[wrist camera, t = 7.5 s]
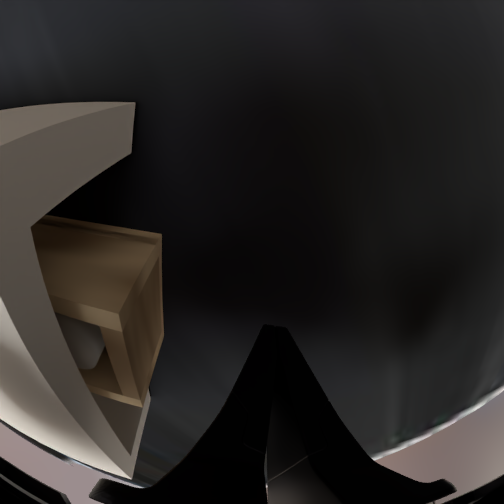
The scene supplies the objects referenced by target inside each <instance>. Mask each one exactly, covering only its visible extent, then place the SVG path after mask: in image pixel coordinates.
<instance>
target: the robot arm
mask: <svg viewBox="0 0 504 504" xmlns="http://www.w3.org/2000/svg"><path fill="white" fill-rule="evenodd" d="M266 446H267V478H268V502H267V493H266V484H265V475H264V461H265V454H266ZM456 491H457V489H456V487H455V486H454V485H453V484H452V483H450V482H449V481H447V480H445V479H440V480H437V481H434V482H431V483H422V482H418V481H415V480H413V479H410V478H408V477H406V476H403V475H401V474H399V473H397V472H394V471H392V470H390V469H388V468H386V467H384V466H382V465H380V464H378V463H377V462H375V461H374V460H373V459H371V458H370V457H369V456H368V455H367V453H366V452H365V451H364V450H363V448H362V447H361V446H360V445H359V443H358V442H357V441H356V439H355V438H354V437H353V435H352V434H351V433H350V432H349V430H348V429H347V428H346V426H345V425H344V423H343V422H342V421H341V419H340V418H339V416H338V414H337V413H336V411H335V410H334V408H333V406H332V405H331V403H330V401H328V398H327V396H326V395H325V393H324V391H323V389H322V388H321V386H320V384H319V383H318V381H317V379H316V377H315V376H314V374H313V372H312V371H311V369H310V367H309V365H308V364H307V362H306V360H305V359H304V357H303V355H302V353H301V352H300V350H299V348H298V347H297V345H296V343H295V341H294V340H293V338H292V336H291V334H290V333H289V331H288V329H287V328H286V327H280V326H276V327H275V326H273V325H267V324H264V325H263V327H262V329H261V331H260V333H259V335H258V337H257V339H256V342H255V344H254V346H253V348H252V350H251V352H250V354H249V356H248V358H247V360H246V362H245V364H244V366H243V368H242V370H241V372H240V375H239V377H238V379H237V381H236V383H235V385H234V387H233V389H232V391H231V393H230V394H229V396H228V398H227V400H226V402H225V404H224V406H223V407H222V409H221V411H220V412H219V414H218V415H217V417H216V418H215V420H214V421H213V422H212V424H211V425H210V426H209V428H208V429H207V430H206V432H205V433H204V434H203V436H202V437H201V438H200V439H199V441H198V442H197V443H196V444H195V446H194V447H193V448H192V449H191V451H190V452H189V453H188V454H187V455H186V456H185V457H184V458H183V459H182V460H181V461H180V462H179V463H178V464H177V465H176V466H175V467H174V468H173V469H172V470H170V471H169V472H168V473H167V474H166V475H165V476H164V477H162V478H161V479H160V480H159V481H158V482H157V483H155V484H154V485H153V486H151V487H148V488H135V487H131V486H128V485H125V484H122V483H119V482H115V481H112V480H108V479H103V478H102V479H100V480H99V481H98V482H97V484H96V485H95V487H94V488H93V489H92V492H91V493H90V494H89V497H90V498H91V499H94V500H96V501H98V502H101V503H104V504H436V502H435V501H436V500H438V499H441V498H443V497H445V496H448V495H449V494H452V493H455V492H456ZM0 504H71V503H70V501H69V500H68V498H67V496H66V495H65V494H63V493H61V492H59V491H57V490H55V489H53V488H51V487H49V486H47V485H46V484H44V483H42V482H40V481H38V480H37V479H35V478H33V477H32V476H30V475H28V474H26V473H25V472H23V471H22V470H20V469H19V468H17V467H16V466H14V465H13V464H11V463H9V462H8V461H6V460H5V459H3V458H2V457H0ZM441 504H504V474H503V475H501V476H499V477H497V478H496V479H494V480H492V481H490V482H488V483H486V484H484V485H482V486H480V487H478V488H476V489H474V490H472V491H469V492H467V493H465V494H463V495H461V496H458V497H456V498H453V499H451V500H449V501H446V502H444V503H441Z"/></svg>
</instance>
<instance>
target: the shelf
mask: <svg viewBox="0 0 504 504" xmlns="http://www.w3.org/2000/svg"><path fill="white" fill-rule="evenodd" d="M135 104H136V103H135V102H76V103H58V104H45V105H35V106H26V107H18V108H11V109H5V110H0V419H2V420H3V421H5V422H6V423H8V424H9V425H11V426H12V427H14V428H16V429H17V430H19V431H21V432H22V433H24V434H26V435H28V436H29V437H31V438H33V439H35V440H37V441H39V442H40V443H42V444H44V445H46V446H48V447H50V448H52V449H54V450H56V451H58V452H60V453H63V454H65V455H67V456H69V457H71V458H74V459H76V460H78V461H81V462H83V463H86V464H88V465H91V466H93V467H96V468H99V469H102V470H104V471H107V472H110V473H113V474H116V475H119V476H122V477H126V478H129V479H132V476H133V471H134V467H135V462H136V458H137V453H138V449H139V444H140V440H141V436H142V432H143V428H144V424H145V420H146V416H147V412H148V408H149V404H150V400H151V398H150V393H149V388H148V391H147V395H146V398H145V402H144V405H143V408H142V407H138V406H134V405H131V404H127V403H124V402H120V401H117V400H114V399H110V398H107V397H104V396H101V395H98V394H95V393H92V392H90V391H89V389H88V387H87V385H86V383H85V382H84V380H83V378H82V376H81V374H80V372H79V370H78V368H77V365H76V363H75V361H74V359H73V357H72V355H71V352H70V350H69V348H68V346H67V343H66V341H65V339H64V336H63V334H62V331H61V329H60V326H59V324H58V321H57V318H56V316H55V313H54V310H53V307H52V305H51V302H50V299H49V296H48V293H47V290H46V286H45V283H44V280H43V276H42V273H41V269H40V266H39V262H38V258H37V254H36V250H35V246H34V242H33V237H32V232H31V226H32V225H33V224H35V223H36V222H37V221H38V220H39V219H40V218H42V217H43V216H44V215H45V214H46V213H48V212H49V211H50V210H51V209H53V208H54V207H55V206H56V205H58V204H59V203H60V202H61V201H63V200H64V199H65V198H67V197H68V196H69V195H70V194H72V193H73V192H74V191H76V190H77V189H79V188H80V187H81V186H83V185H84V184H85V183H87V182H88V181H90V180H91V179H92V178H94V177H95V176H97V175H98V174H100V173H101V172H103V171H104V170H106V169H107V168H109V167H110V166H112V165H113V164H115V163H116V162H118V161H119V160H121V159H123V158H124V157H126V156H127V155H129V154H131V152H132V136H133V124H134V114H135Z"/></svg>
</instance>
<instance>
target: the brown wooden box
mask: <svg viewBox="0 0 504 504" xmlns="http://www.w3.org/2000/svg"><path fill="white" fill-rule="evenodd" d="M31 232H32V237H33V242H34V246H35V250H36V254H37V258H38V262H39V266H40V269H41V273H42V276H43V280H44V283H45V286H46V290H47V293H48V296H49V299H50V302H51V305H52V307H53V310H54V313H55V316H56V318H57V321H58V324H59V326H60V329H61V331H62V334H63V336H64V339H65V341H66V343H67V346H68V348H69V350H70V352H71V355H72V357H73V359H74V361H75V363H76V365H77V368H78V370H79V372H80V374H81V376H82V378H83V380H84V382H85V383H86V385H87V387H88V389H89V391H90V392H92V393H95V394H98V395H101V396H104V397H107V398H110V399H114V400H117V401H120V402H124V403H127V404H131V405H134V406H138V407H142V408H143V405H144V402H145V398H146V395H147V391H148V387H149V384H150V380H151V377H152V374H153V370H154V367H155V364H156V360H157V357H158V354H159V350H160V347H161V344H162V341H163V338H164V324H163V302H162V234H158V233H152V232H146V231H140V230H134V229H128V228H122V227H116V226H110V225H104V224H98V223H92V222H86V221H80V220H74V219H68V218H62V217H55V216H49V215H44V216H43V217H42V218H40V219H39V220H38V221H37V222H36V223H35V224H33V225H32V226H31Z"/></svg>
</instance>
